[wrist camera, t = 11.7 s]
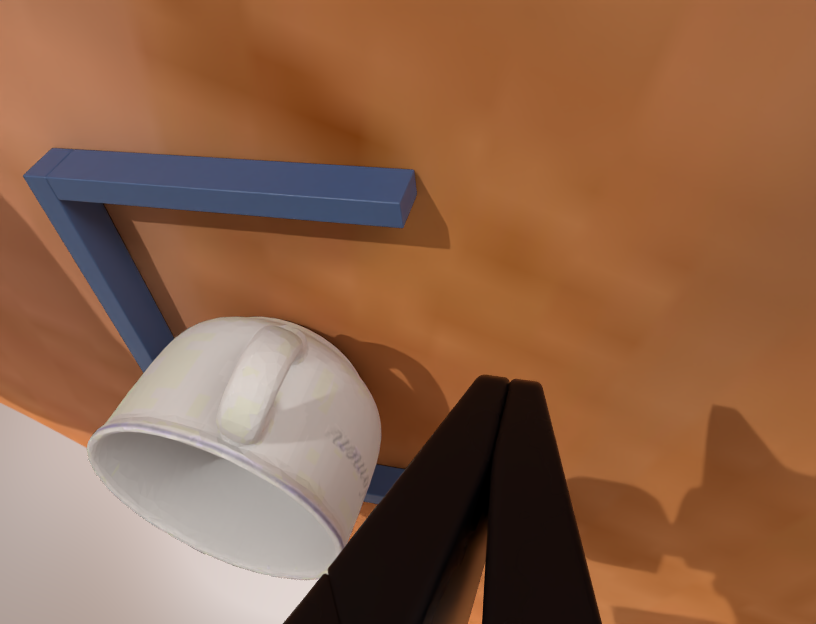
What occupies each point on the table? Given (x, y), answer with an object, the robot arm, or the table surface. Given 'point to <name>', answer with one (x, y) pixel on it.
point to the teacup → (246, 445)
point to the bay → (207, 192)
